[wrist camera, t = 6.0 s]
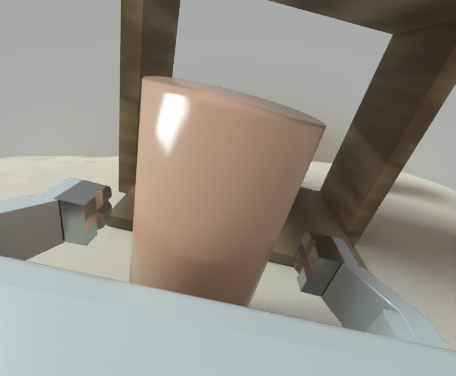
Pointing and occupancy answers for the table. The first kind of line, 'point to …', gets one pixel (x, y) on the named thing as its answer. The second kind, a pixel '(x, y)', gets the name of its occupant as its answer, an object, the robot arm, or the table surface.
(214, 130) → the peach tapered cylinder
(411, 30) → the under counter shelf
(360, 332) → the robot arm
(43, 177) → the table surface
